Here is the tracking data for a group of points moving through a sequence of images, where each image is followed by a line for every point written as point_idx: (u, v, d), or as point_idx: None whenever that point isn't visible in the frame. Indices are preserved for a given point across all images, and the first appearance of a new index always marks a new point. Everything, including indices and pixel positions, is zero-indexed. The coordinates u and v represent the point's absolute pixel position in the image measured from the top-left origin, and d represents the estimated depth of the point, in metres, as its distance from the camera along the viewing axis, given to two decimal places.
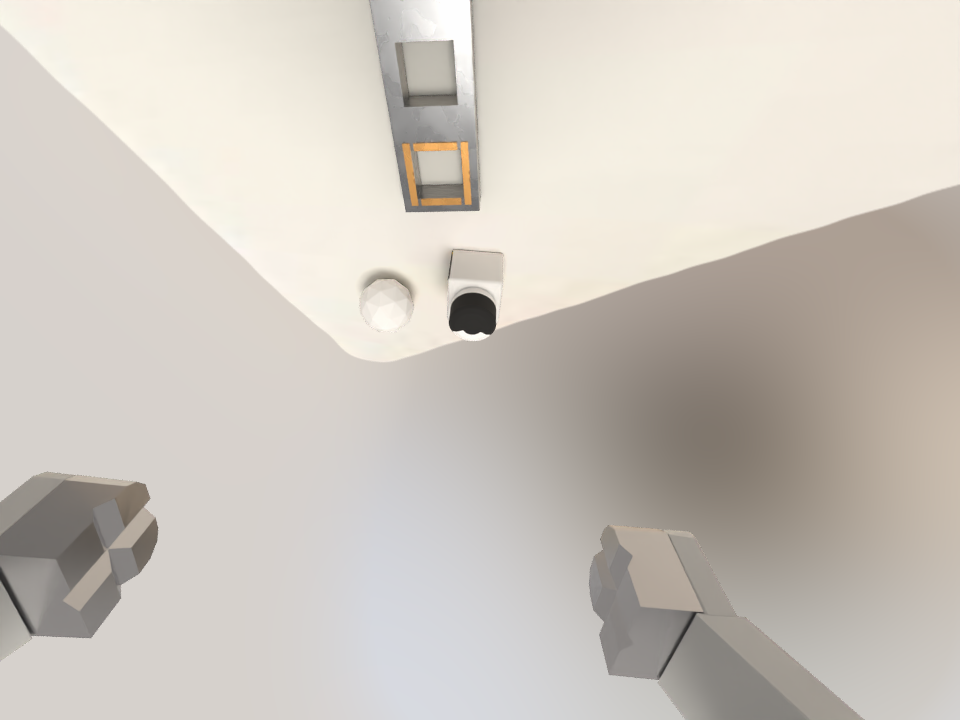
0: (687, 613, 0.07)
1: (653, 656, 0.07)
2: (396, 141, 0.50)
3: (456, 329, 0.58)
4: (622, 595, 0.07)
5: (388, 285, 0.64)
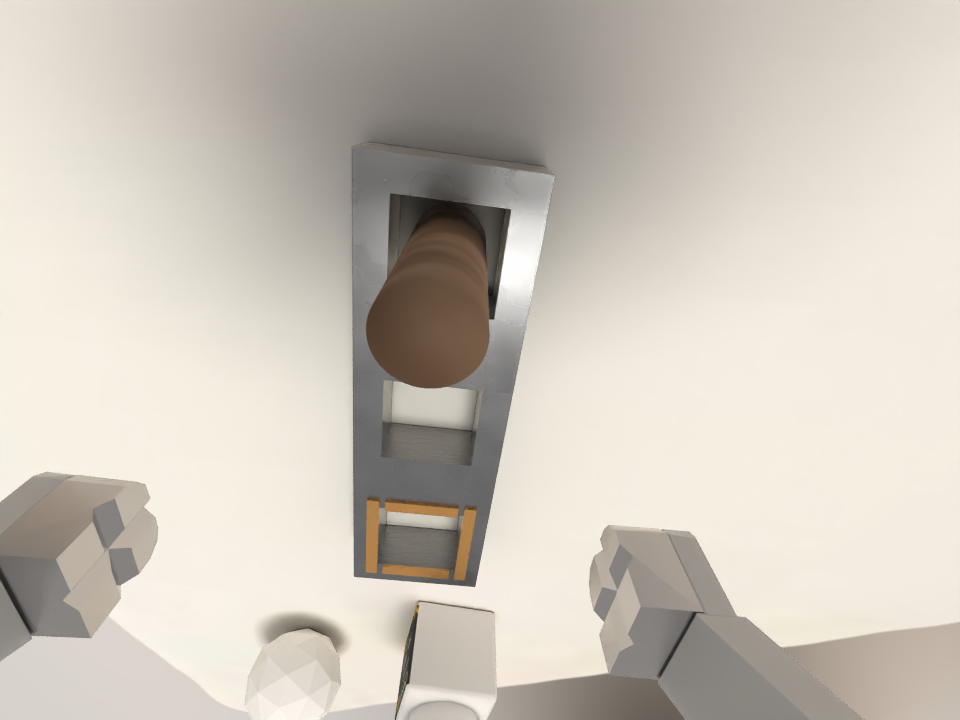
0: (687, 613, 0.07)
1: (653, 656, 0.07)
2: (358, 494, 0.30)
3: None
4: (622, 595, 0.07)
5: (303, 656, 0.38)
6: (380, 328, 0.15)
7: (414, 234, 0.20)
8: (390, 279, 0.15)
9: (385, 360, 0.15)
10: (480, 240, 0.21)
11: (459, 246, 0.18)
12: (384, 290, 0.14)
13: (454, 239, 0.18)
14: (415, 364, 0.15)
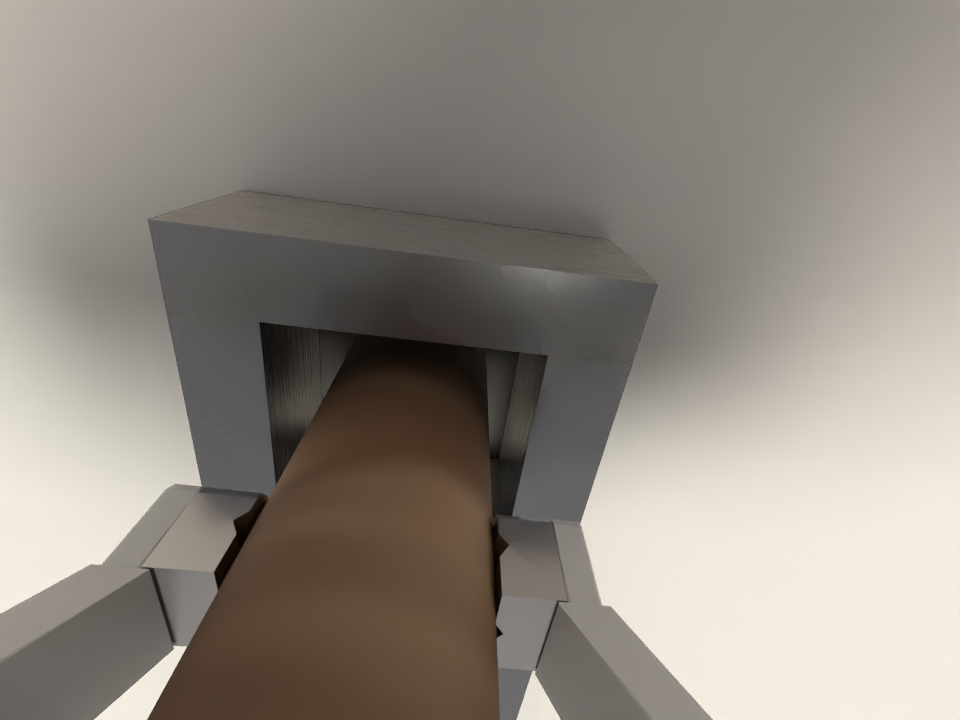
0: (551, 602, 0.07)
1: (525, 646, 0.07)
2: None
3: None
4: (496, 584, 0.07)
5: None
6: None
7: (313, 431, 0.08)
8: None
9: None
10: (476, 420, 0.09)
11: (409, 558, 0.06)
12: None
13: (398, 509, 0.06)
14: None
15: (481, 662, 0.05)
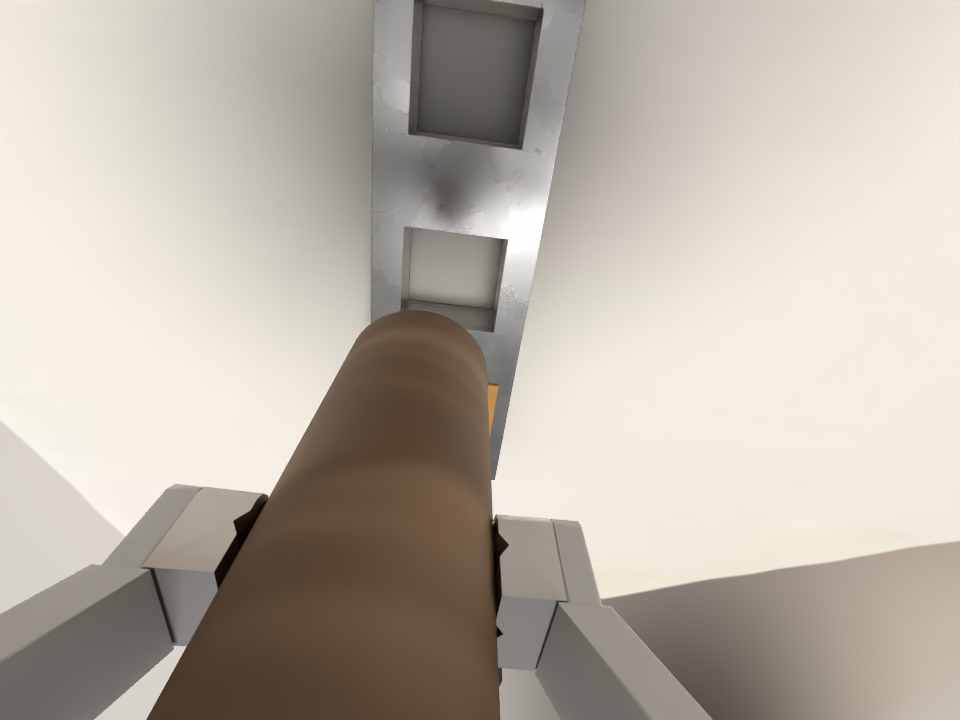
0: (551, 602, 0.07)
1: (525, 646, 0.07)
2: None
3: None
4: (496, 584, 0.07)
5: None
6: None
7: (313, 430, 0.08)
8: None
9: None
10: (476, 420, 0.09)
11: (409, 558, 0.06)
12: None
13: (399, 508, 0.06)
14: None
15: (481, 662, 0.05)
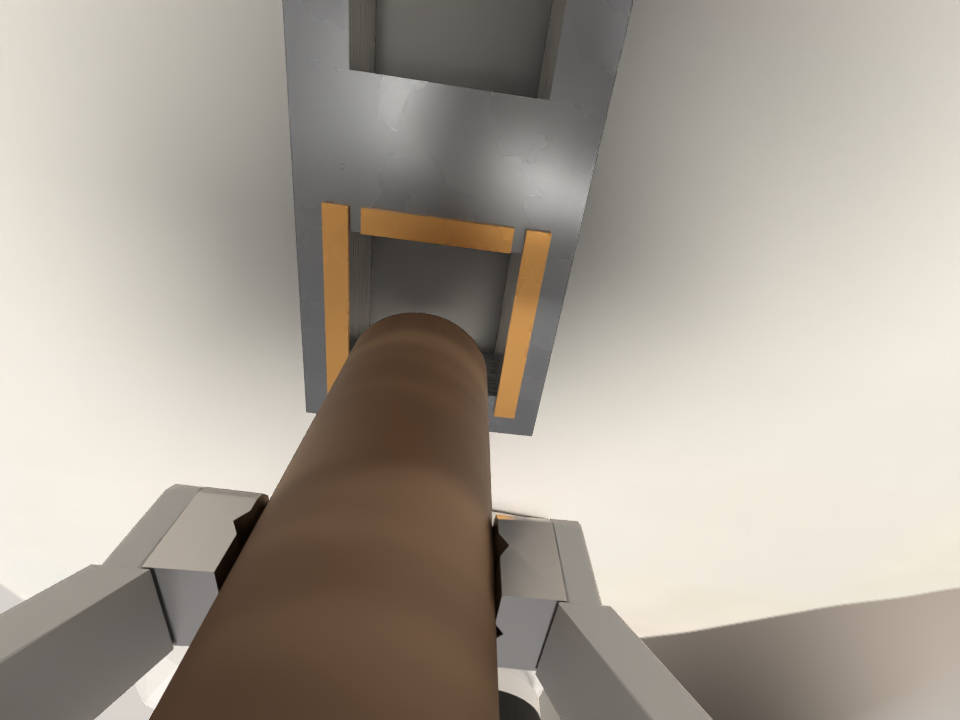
0: (551, 602, 0.07)
1: (525, 646, 0.07)
2: (303, 191, 0.14)
3: None
4: (496, 584, 0.07)
5: None
6: None
7: (312, 434, 0.08)
8: None
9: None
10: (476, 423, 0.09)
11: (408, 564, 0.06)
12: None
13: (398, 514, 0.06)
14: None
15: (481, 669, 0.05)
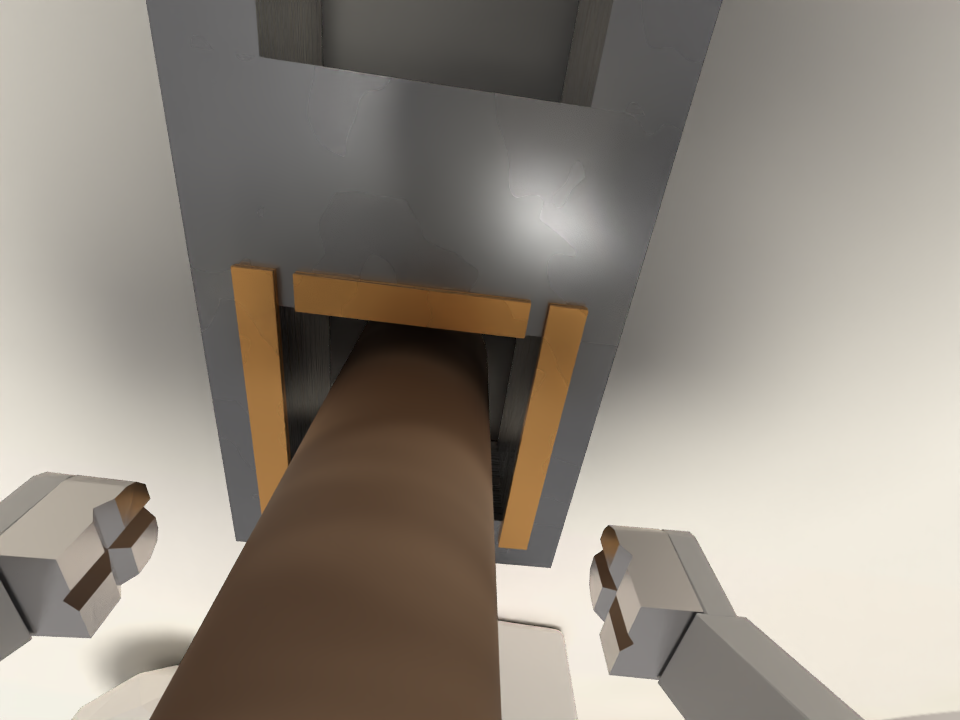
0: (687, 613, 0.07)
1: (653, 656, 0.07)
2: (203, 249, 0.09)
3: None
4: (622, 595, 0.07)
5: None
6: None
7: (330, 401, 0.09)
8: None
9: None
10: (477, 395, 0.10)
11: (420, 500, 0.06)
12: None
13: (410, 461, 0.07)
14: None
15: (482, 587, 0.06)
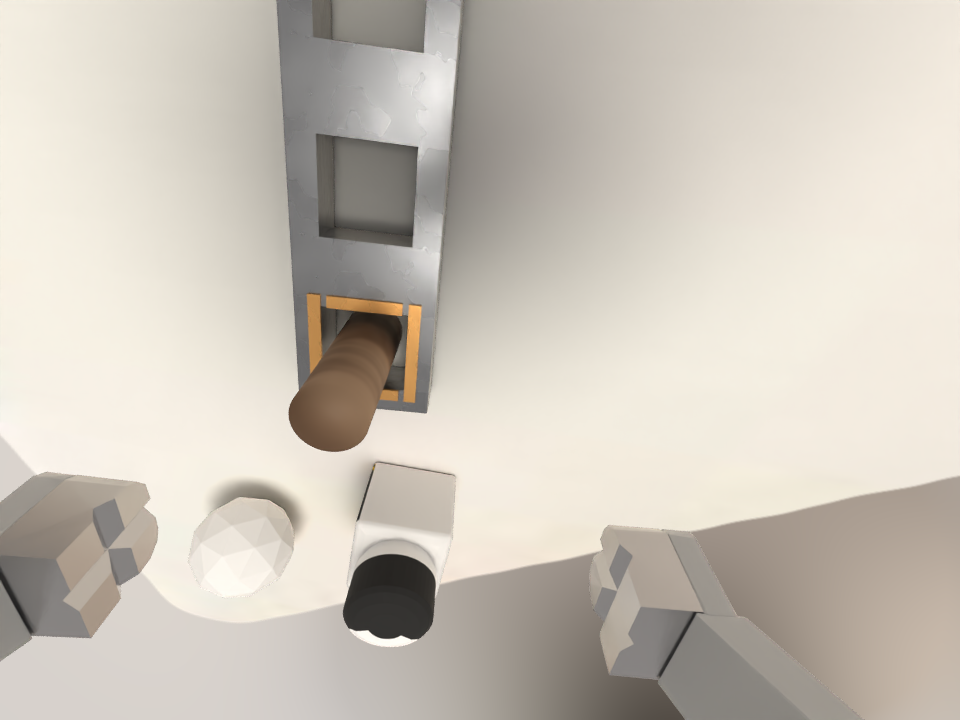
0: (687, 613, 0.07)
1: (653, 656, 0.07)
2: (298, 288, 0.29)
3: (355, 627, 0.30)
4: (622, 595, 0.07)
5: (252, 512, 0.36)
6: (298, 415, 0.23)
7: (338, 336, 0.29)
8: (305, 382, 0.23)
9: (303, 434, 0.23)
10: (388, 336, 0.30)
11: (361, 351, 0.26)
12: (298, 392, 0.22)
13: (359, 345, 0.27)
14: (323, 436, 0.23)
15: (376, 371, 0.26)
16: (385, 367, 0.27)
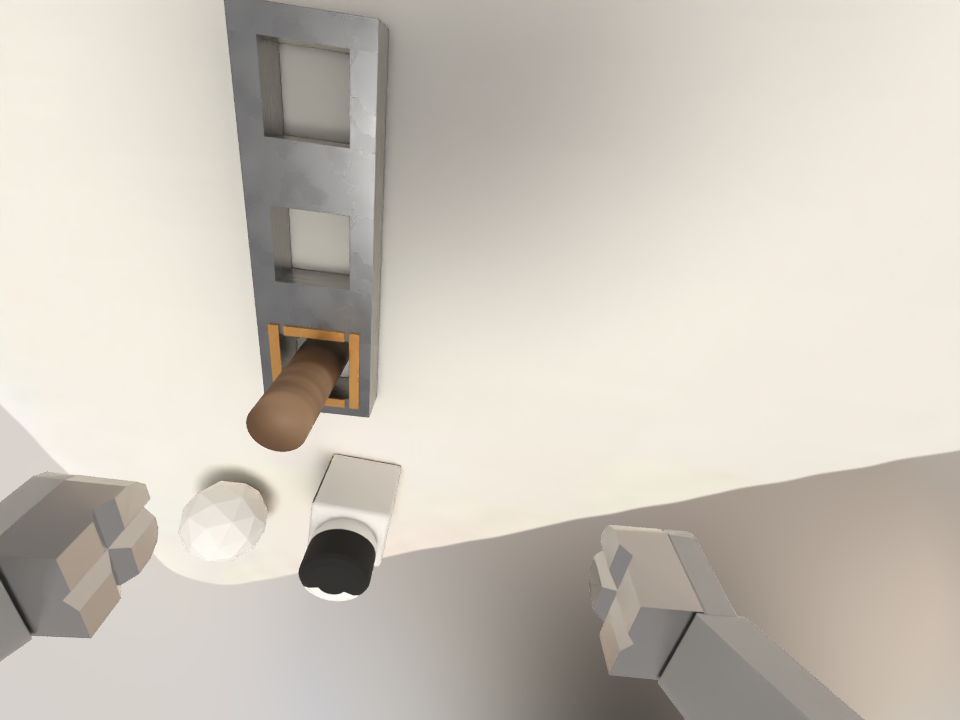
0: (687, 613, 0.07)
1: (653, 656, 0.07)
2: (260, 319, 0.36)
3: (308, 584, 0.38)
4: (622, 595, 0.07)
5: (230, 494, 0.45)
6: (253, 424, 0.31)
7: (292, 358, 0.36)
8: (259, 400, 0.31)
9: (258, 438, 0.31)
10: (334, 357, 0.38)
11: (306, 373, 0.34)
12: (253, 408, 0.30)
13: (306, 367, 0.34)
14: (273, 440, 0.31)
15: (317, 389, 0.33)
16: (327, 384, 0.35)
